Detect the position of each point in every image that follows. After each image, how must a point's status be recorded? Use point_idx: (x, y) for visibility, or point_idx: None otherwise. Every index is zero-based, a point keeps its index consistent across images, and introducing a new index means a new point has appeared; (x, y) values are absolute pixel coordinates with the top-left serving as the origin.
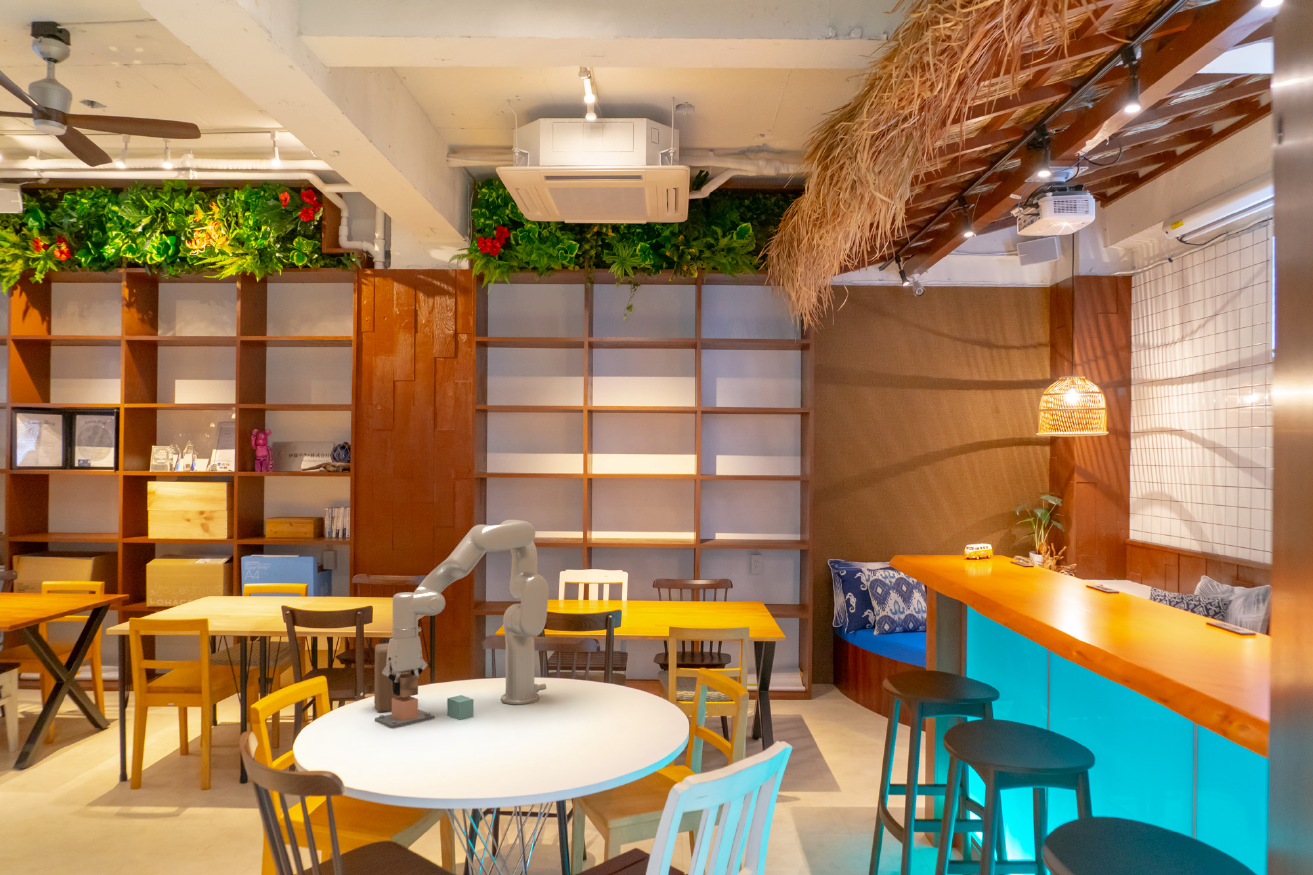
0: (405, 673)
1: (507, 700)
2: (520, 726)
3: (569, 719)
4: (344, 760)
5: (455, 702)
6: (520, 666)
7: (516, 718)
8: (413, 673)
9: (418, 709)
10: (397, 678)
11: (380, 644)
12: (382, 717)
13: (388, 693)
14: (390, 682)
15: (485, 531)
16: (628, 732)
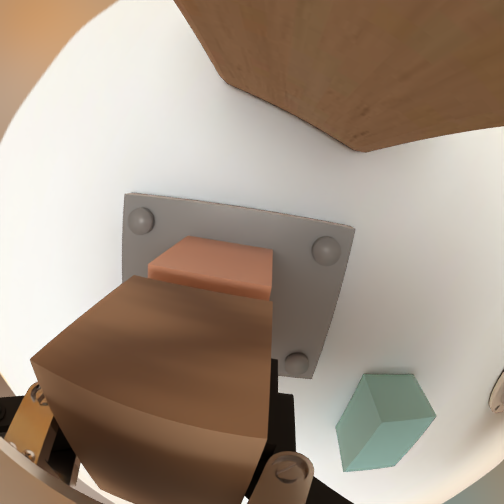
0: (214, 449)
1: (498, 391)
2: (346, 495)
3: (406, 494)
4: (21, 382)
5: (353, 455)
6: None
7: (394, 470)
8: (277, 496)
9: (347, 253)
10: (67, 457)
11: None
12: (138, 233)
13: (257, 67)
14: (269, 32)
15: None
16: None
